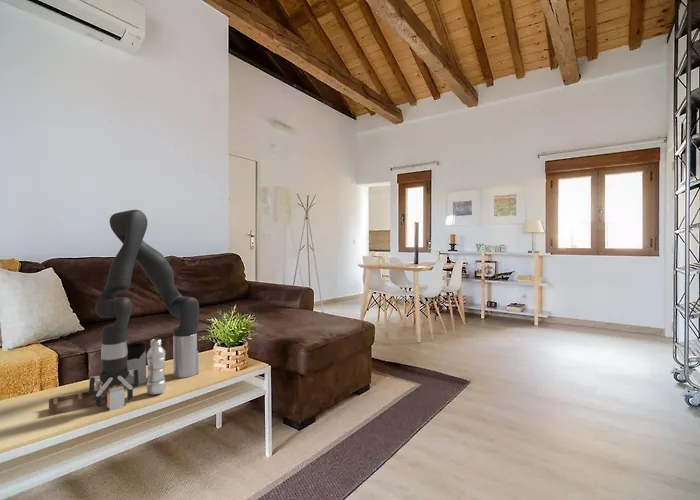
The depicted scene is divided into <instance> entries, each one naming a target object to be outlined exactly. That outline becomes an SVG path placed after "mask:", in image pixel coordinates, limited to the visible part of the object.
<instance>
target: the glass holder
mask: <svg viewBox="0 0 700 500" xmlns="http://www.w3.org/2000/svg"><path fill="white" fill-rule="evenodd" d="M127 351H128V354H127V369H128V370H133V369H134V368H137V370H138V380H139V385H138V386H141V385H143V384H145V383H147V382H148V377H147V356H146V355H147V349H146V343H144V342H135V343H134V342H133V343H128V344H127ZM126 380H127V381H128V382H129V383H130V384H132V383H134V378H133V376H132V375H131V374H129V375H128V376H127V377H126ZM121 385H122V386H123V387H126V386H125V385H124V384H123V383H122V384H121Z"/></svg>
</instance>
